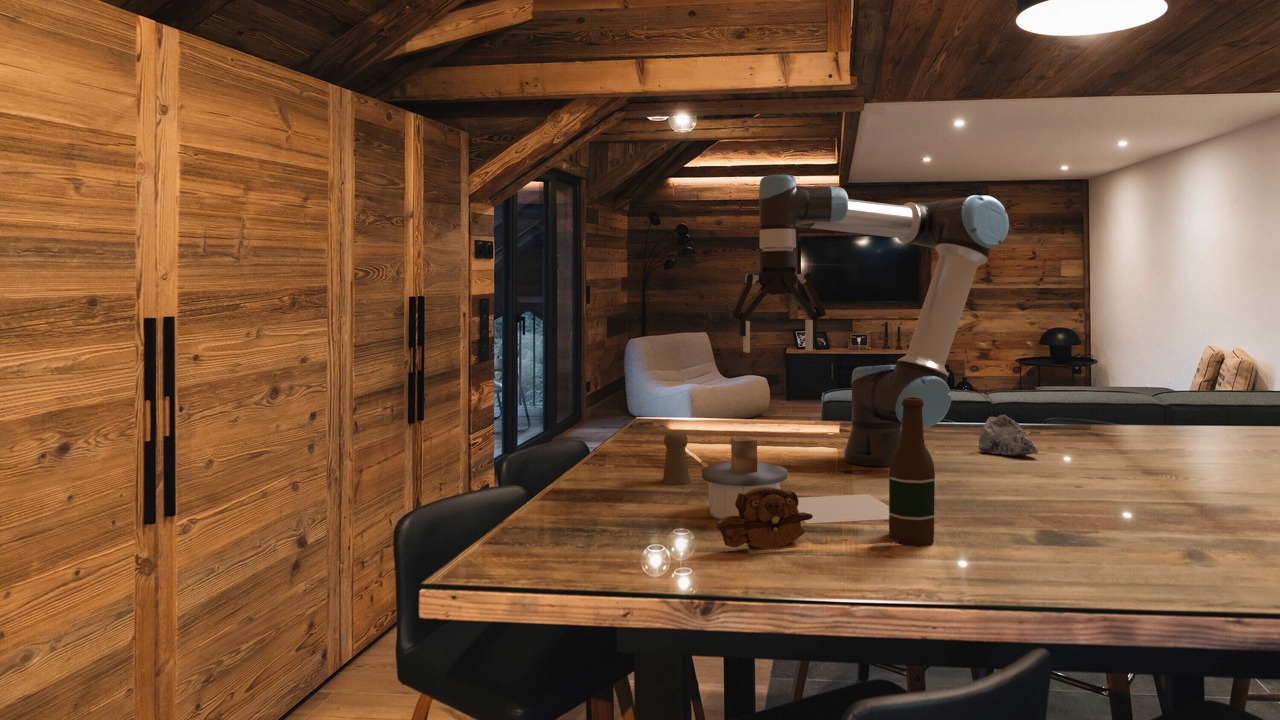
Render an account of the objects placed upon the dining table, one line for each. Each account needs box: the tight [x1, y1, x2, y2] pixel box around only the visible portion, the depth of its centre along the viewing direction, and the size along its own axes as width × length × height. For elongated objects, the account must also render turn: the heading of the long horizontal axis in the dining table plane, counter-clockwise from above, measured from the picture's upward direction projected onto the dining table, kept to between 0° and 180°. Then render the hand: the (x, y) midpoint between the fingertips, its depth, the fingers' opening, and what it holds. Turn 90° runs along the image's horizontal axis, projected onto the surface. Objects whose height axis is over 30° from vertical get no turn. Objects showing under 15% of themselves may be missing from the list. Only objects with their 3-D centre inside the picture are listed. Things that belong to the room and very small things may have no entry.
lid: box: [701, 436, 788, 486], centre depth 173 cm, size 16×16×7 cm
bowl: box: [707, 481, 781, 521], centre depth 174 cm, size 13×13×7 cm
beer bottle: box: [888, 397, 936, 547], centre depth 154 cm, size 8×8×24 cm
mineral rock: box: [978, 414, 1039, 457], centre depth 225 cm, size 13×11×10 cm
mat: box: [797, 493, 889, 525], centre depth 175 cm, size 19×19×1 cm
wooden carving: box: [716, 487, 813, 549], centre depth 151 cm, size 16×5×10 cm, turn 110°
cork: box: [662, 431, 691, 486], centre depth 201 cm, size 6×6×11 cm
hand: (777, 351), depth 195 cm, fingers open, 13 cm apart
